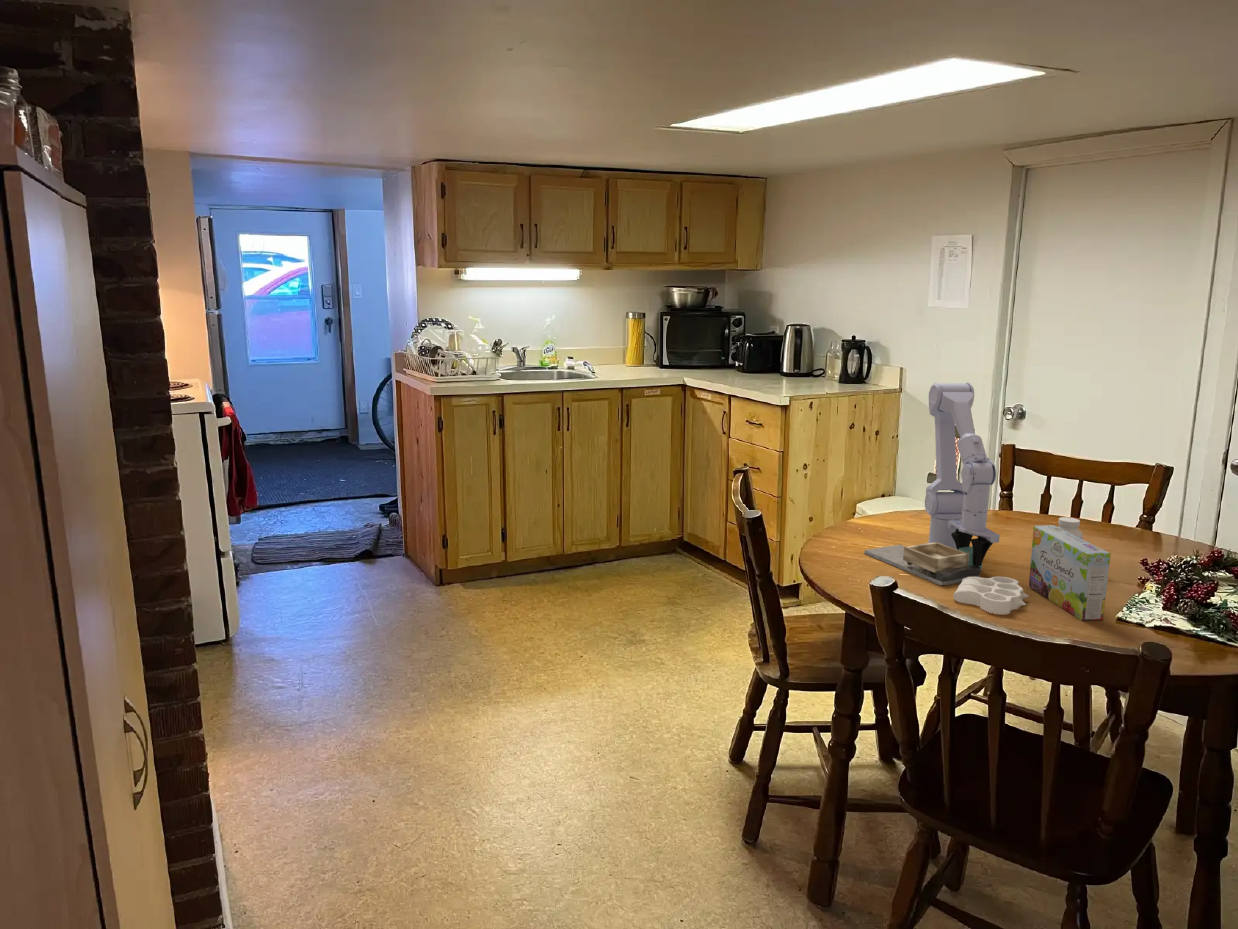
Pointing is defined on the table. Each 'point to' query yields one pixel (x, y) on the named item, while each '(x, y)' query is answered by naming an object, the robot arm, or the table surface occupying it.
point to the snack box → (1069, 572)
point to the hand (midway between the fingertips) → (969, 563)
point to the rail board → (944, 577)
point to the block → (970, 552)
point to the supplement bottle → (1070, 526)
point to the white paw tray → (991, 594)
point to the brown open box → (935, 557)
